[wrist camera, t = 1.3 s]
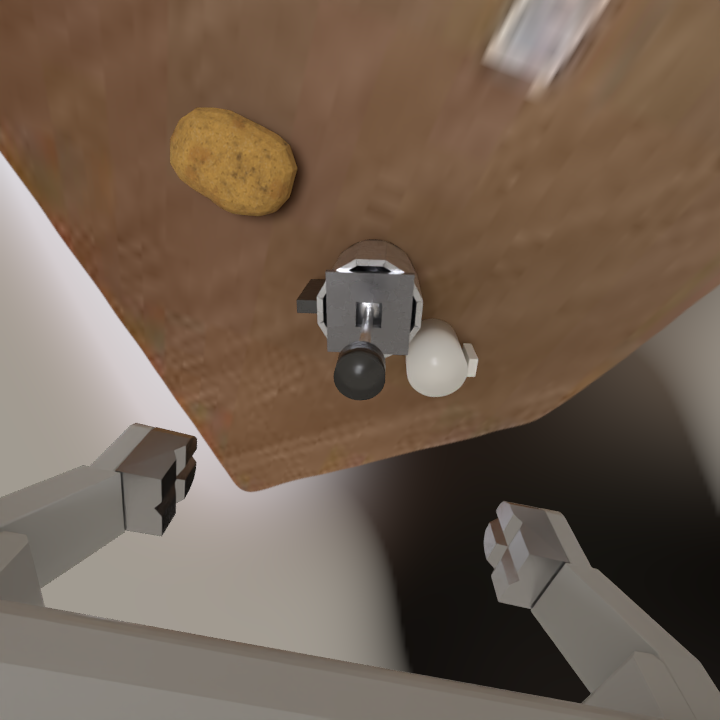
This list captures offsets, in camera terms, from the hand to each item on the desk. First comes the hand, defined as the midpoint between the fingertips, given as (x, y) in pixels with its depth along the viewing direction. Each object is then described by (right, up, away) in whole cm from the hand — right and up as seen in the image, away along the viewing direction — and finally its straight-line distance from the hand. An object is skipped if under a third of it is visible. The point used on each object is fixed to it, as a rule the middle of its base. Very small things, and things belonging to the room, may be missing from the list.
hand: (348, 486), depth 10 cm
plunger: (+1, +9, +30) cm, 31 cm away
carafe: (+1, +13, +38) cm, 41 cm away
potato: (-13, +25, +33) cm, 44 cm away
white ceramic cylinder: (+10, +6, +41) cm, 43 cm away
